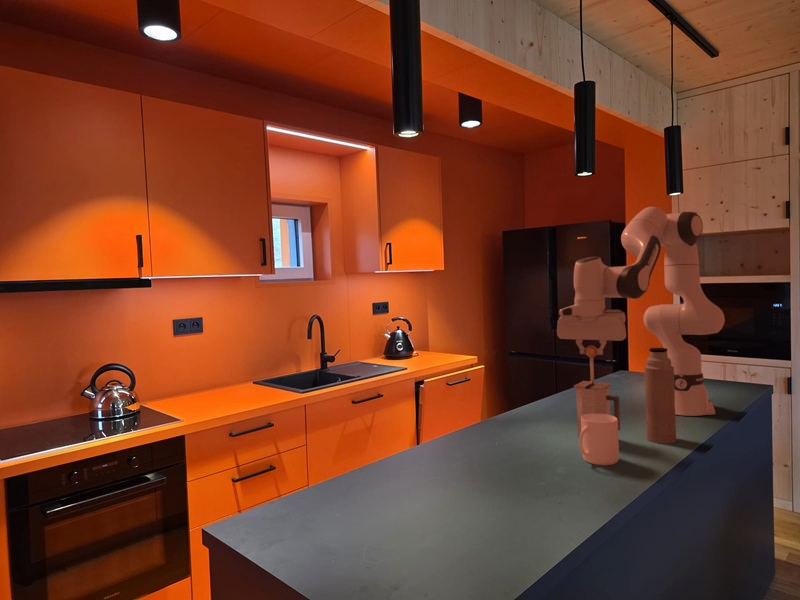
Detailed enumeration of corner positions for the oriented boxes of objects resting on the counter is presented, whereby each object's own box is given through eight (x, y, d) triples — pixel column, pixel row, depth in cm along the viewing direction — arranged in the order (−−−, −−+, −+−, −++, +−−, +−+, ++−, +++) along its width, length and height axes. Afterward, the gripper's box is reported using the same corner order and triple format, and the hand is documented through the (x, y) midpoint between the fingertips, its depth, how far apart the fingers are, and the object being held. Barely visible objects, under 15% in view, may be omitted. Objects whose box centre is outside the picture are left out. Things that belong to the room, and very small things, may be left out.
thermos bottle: (671, 435, 160) (668, 346, 159) (679, 443, 152) (677, 349, 151) (643, 435, 161) (640, 346, 160) (650, 443, 153) (647, 350, 152)
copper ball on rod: (585, 398, 164) (583, 343, 164) (607, 400, 160) (605, 344, 159) (578, 403, 159) (576, 346, 158) (600, 405, 155) (598, 347, 154)
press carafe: (584, 433, 166) (582, 380, 166) (623, 439, 159) (622, 383, 158) (575, 440, 159) (572, 385, 159) (615, 447, 152) (613, 389, 151)
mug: (625, 459, 142) (623, 417, 141) (604, 471, 133) (603, 426, 133) (592, 451, 149) (591, 411, 148) (571, 463, 140) (569, 420, 140)
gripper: (628, 308, 154) (629, 354, 155) (561, 309, 167) (563, 351, 168) (622, 310, 150) (623, 357, 150) (554, 310, 162) (555, 354, 163)
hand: (591, 354), depth 159 cm, fingers closed on copper ball on rod, 4 cm apart
